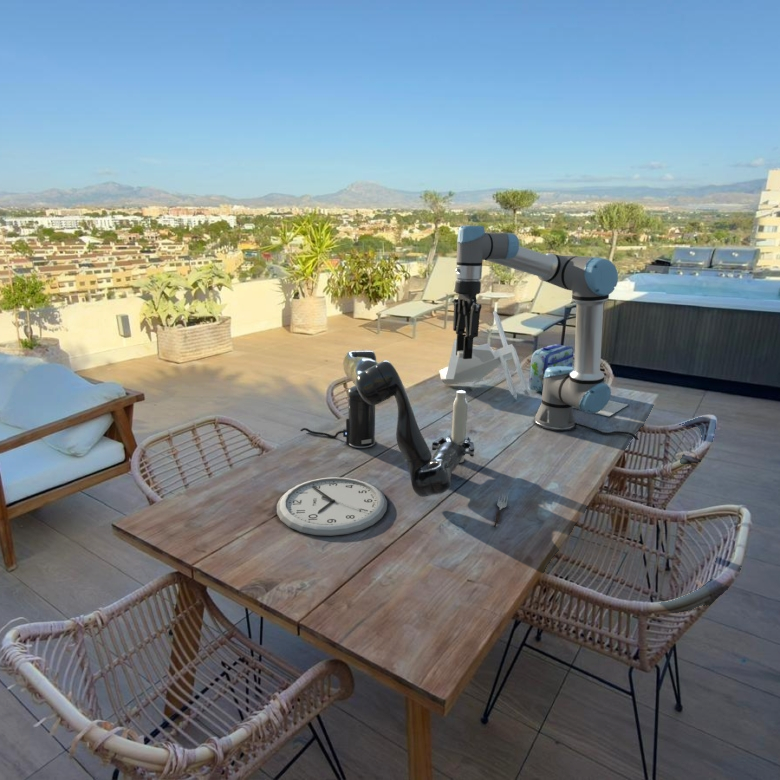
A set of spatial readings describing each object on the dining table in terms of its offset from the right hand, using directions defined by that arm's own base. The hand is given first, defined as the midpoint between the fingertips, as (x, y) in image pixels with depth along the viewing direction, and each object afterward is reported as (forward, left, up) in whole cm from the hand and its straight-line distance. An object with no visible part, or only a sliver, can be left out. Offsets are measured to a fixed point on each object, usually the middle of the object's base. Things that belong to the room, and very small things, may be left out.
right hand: (463, 356), depth 162 cm
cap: (0, 0, +1) cm, 1 cm away
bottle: (0, 0, -35) cm, 35 cm away
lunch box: (-44, -87, -35) cm, 104 cm away
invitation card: (-62, -64, -35) cm, 96 cm away
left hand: (0, -2, -28) cm, 28 cm away
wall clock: (+34, +35, -35) cm, 60 cm away
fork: (-11, +33, -35) cm, 49 cm away
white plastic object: (-10, -76, -35) cm, 84 cm away
